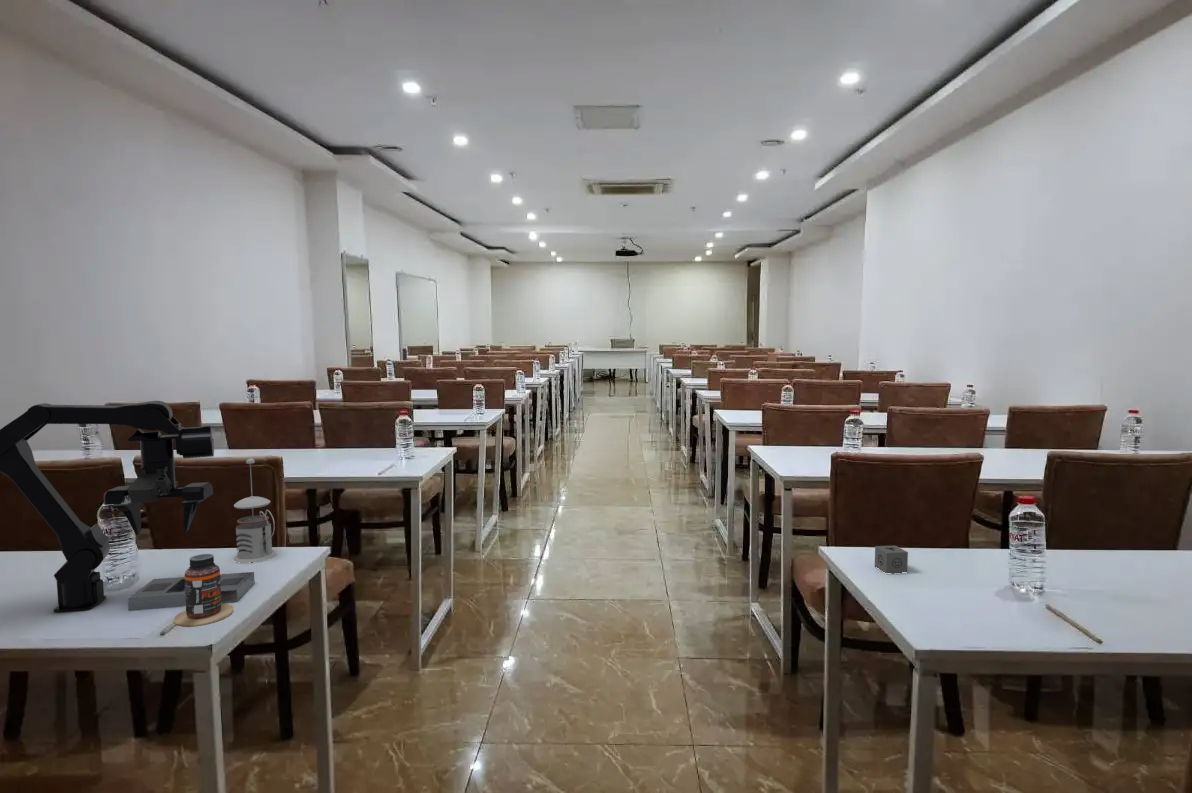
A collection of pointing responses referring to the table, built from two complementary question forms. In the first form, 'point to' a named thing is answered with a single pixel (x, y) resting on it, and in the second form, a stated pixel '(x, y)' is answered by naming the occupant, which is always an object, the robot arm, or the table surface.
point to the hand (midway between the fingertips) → (162, 533)
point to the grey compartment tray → (170, 594)
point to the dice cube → (891, 559)
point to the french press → (253, 530)
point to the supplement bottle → (202, 587)
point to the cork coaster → (188, 621)
